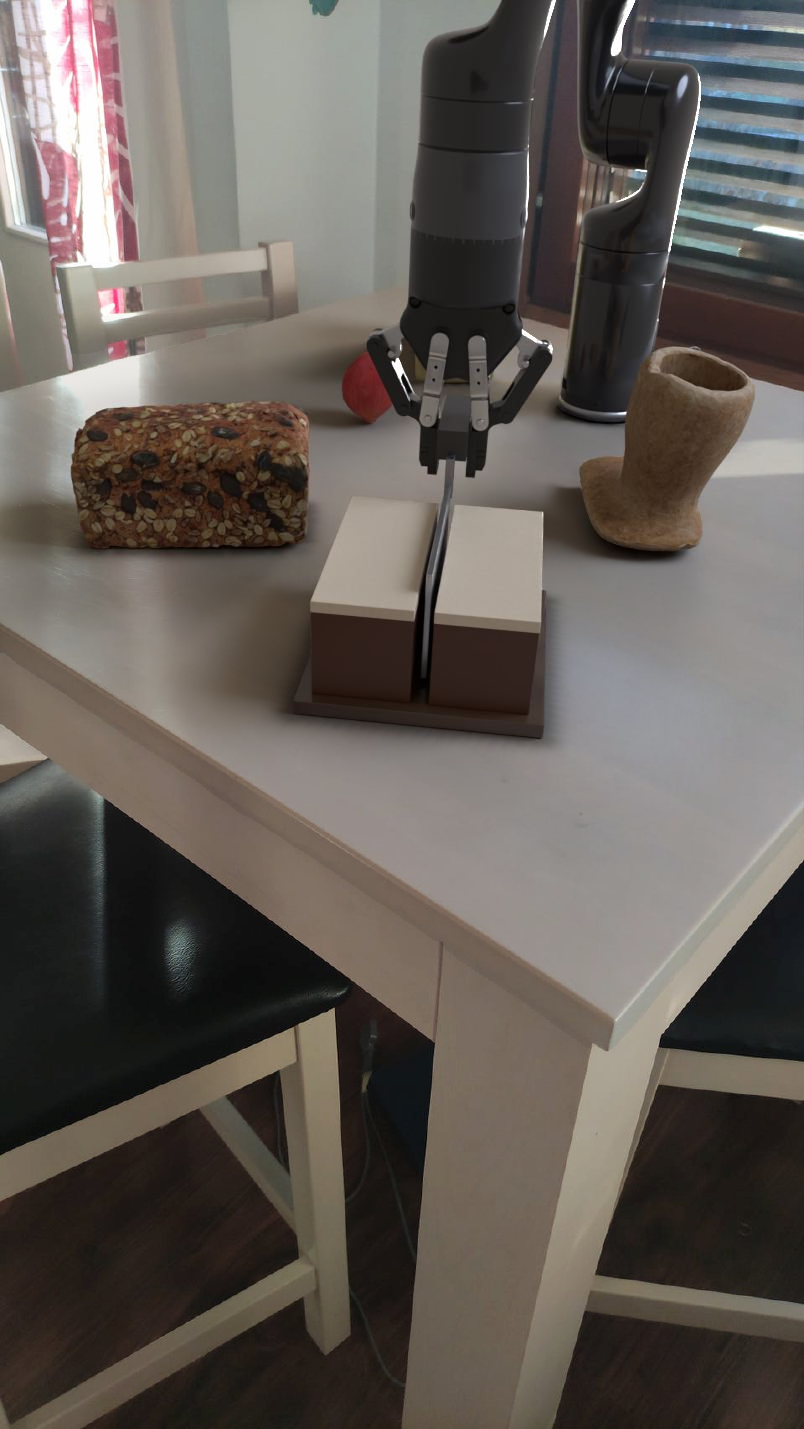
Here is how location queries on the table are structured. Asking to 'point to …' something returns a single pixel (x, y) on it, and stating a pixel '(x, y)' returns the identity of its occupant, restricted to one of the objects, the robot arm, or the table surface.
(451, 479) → the knife
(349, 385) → the onion
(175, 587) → the table surface
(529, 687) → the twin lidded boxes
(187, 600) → the table surface
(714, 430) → the stone cup
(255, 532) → the bread
